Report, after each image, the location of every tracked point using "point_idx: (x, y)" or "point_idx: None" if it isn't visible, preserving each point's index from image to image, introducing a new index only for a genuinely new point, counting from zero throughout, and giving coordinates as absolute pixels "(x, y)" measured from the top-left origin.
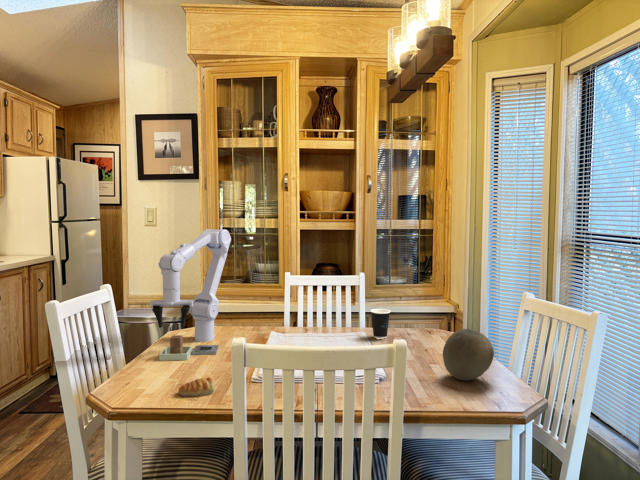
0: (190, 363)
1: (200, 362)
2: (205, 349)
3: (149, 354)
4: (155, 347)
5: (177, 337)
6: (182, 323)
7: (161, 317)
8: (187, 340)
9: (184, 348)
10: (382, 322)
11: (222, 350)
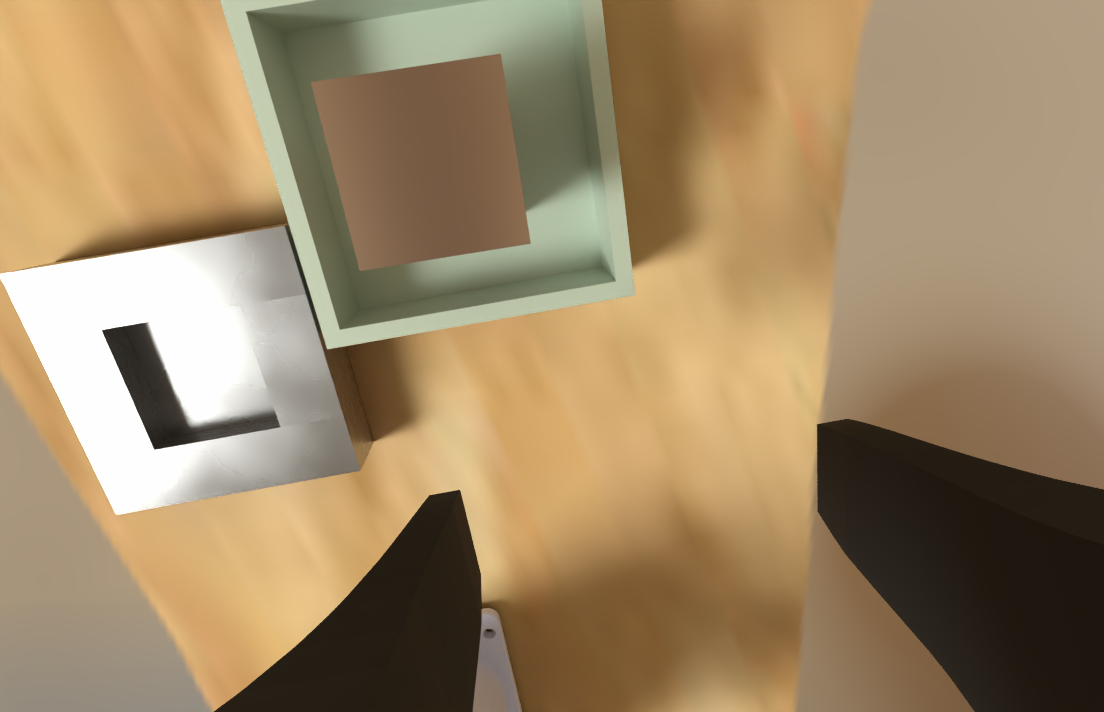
0: None
1: (124, 56)
2: (244, 423)
3: (788, 286)
4: (797, 493)
5: (382, 113)
6: (421, 522)
7: (941, 610)
8: (587, 701)
9: (416, 311)
10: None
11: None
